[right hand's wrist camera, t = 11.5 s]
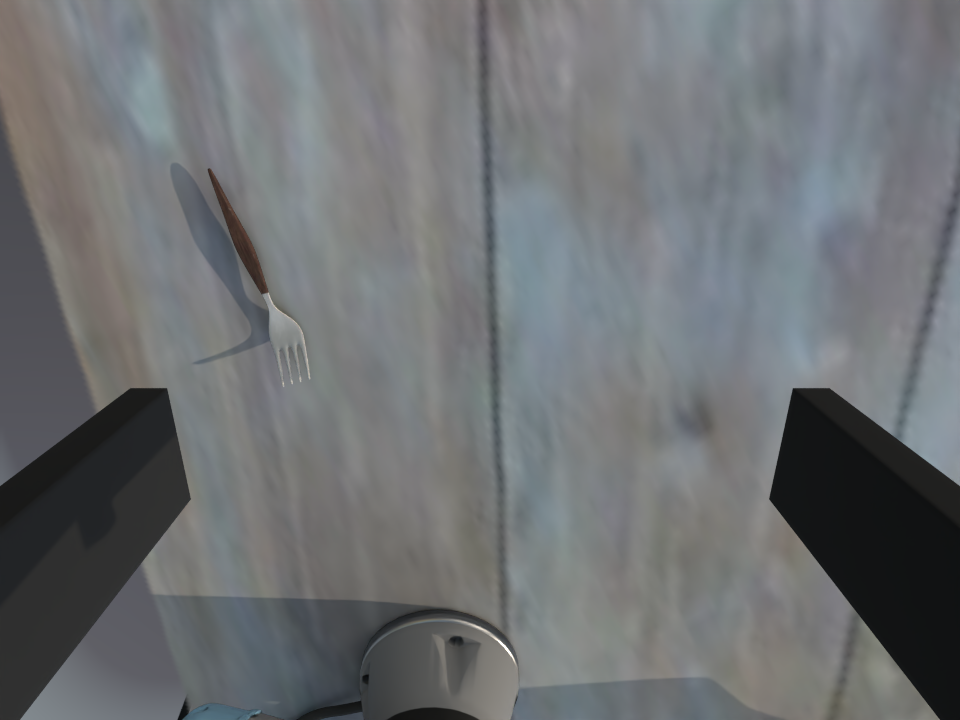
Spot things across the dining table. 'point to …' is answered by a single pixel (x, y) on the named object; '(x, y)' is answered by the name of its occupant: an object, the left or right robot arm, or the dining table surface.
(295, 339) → the fork
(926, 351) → the dining table surface
